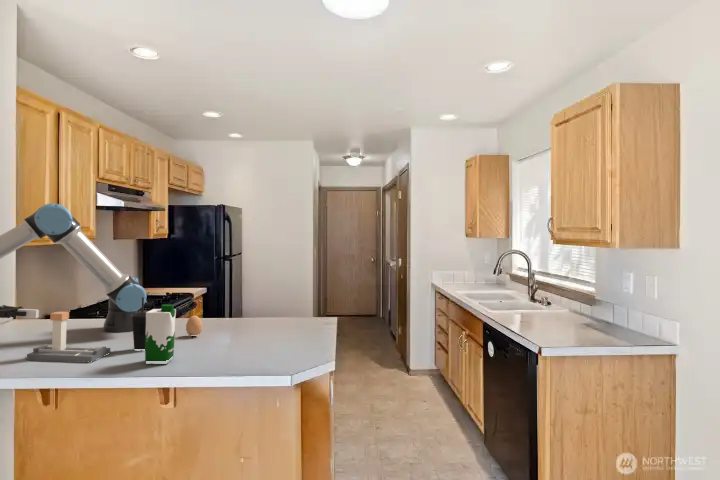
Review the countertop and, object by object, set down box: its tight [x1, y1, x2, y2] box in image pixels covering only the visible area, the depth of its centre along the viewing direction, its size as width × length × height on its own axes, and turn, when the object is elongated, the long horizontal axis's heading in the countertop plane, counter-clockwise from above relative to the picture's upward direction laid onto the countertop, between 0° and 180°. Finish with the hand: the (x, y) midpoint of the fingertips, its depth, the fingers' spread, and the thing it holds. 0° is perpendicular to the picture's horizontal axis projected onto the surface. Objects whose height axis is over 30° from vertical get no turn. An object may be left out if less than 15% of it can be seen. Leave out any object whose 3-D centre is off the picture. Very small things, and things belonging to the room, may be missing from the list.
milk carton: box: [144, 303, 177, 362], centre depth 163 cm, size 9×9×20 cm
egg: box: [185, 315, 203, 336], centre depth 202 cm, size 7×7×9 cm
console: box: [26, 343, 111, 363], centre depth 166 cm, size 22×12×3 cm, turn 90°
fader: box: [49, 311, 70, 350], centre depth 165 cm, size 4×4×13 cm
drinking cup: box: [131, 297, 149, 350], centre depth 178 cm, size 8×8×20 cm
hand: (37, 313), depth 165 cm, fingers closed
